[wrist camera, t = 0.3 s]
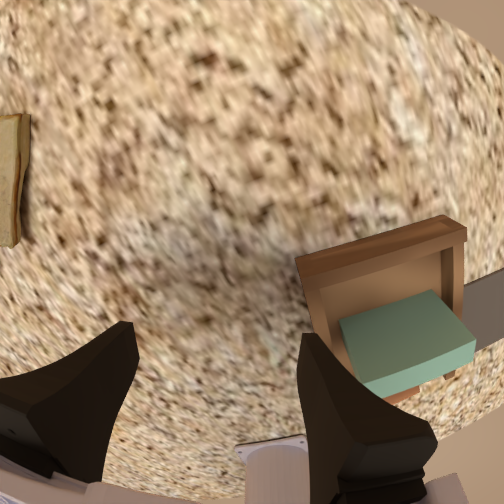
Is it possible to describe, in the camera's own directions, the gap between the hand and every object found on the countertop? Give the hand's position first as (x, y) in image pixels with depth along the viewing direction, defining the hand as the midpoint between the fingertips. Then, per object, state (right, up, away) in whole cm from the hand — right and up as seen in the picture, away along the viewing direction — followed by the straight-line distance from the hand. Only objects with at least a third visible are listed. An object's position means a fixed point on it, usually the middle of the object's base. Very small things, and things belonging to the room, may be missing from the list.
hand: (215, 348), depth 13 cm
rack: (+12, -1, +11) cm, 17 cm away
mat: (+25, -2, +11) cm, 27 cm away
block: (+12, -1, +10) cm, 16 cm away
